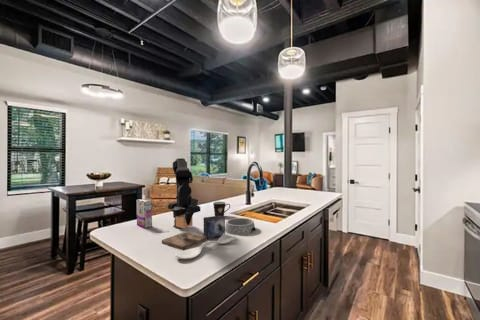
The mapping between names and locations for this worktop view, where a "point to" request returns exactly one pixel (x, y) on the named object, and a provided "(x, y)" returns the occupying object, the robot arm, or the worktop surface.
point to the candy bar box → (144, 213)
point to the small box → (214, 227)
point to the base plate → (184, 240)
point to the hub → (182, 221)
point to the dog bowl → (239, 226)
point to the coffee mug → (220, 208)
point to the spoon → (196, 251)
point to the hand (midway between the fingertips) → (184, 223)
